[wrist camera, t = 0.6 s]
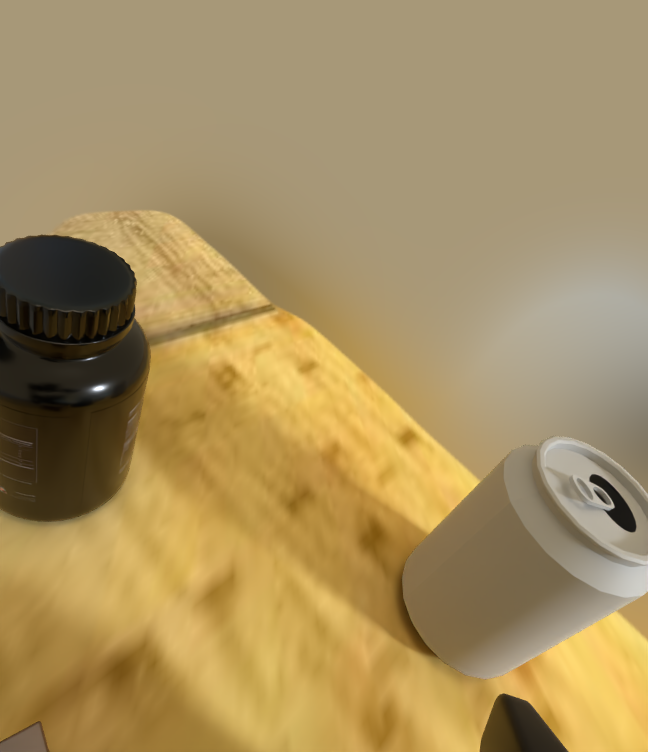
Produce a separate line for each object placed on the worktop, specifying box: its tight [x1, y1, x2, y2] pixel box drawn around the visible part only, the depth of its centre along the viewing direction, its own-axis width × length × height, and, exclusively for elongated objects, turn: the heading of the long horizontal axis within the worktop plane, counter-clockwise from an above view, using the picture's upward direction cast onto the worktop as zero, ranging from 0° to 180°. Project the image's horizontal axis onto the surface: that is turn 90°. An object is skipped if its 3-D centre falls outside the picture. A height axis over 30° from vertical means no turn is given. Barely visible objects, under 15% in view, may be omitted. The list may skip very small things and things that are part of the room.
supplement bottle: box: [0, 235, 151, 522], centre depth 21 cm, size 7×7×12 cm
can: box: [402, 436, 648, 679], centre depth 24 cm, size 8×8×12 cm
